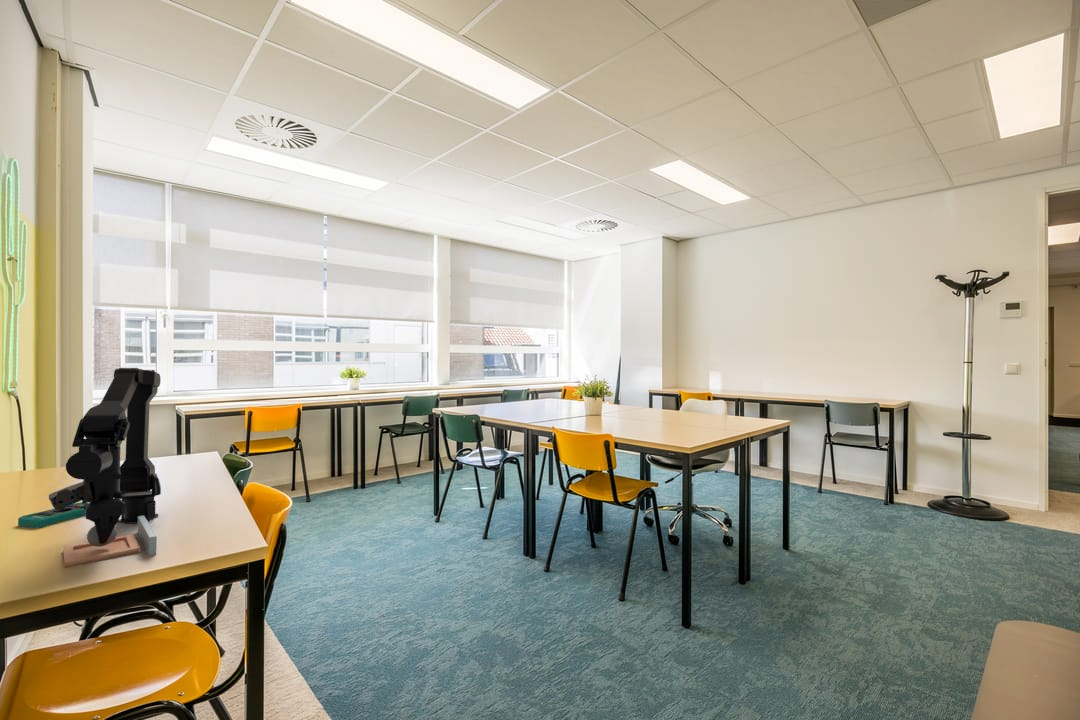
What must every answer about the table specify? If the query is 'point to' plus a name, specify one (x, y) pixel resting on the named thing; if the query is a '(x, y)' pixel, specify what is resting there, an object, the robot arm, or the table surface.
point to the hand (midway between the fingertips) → (102, 540)
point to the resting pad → (100, 550)
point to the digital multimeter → (52, 516)
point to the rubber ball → (93, 537)
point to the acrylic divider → (147, 535)
